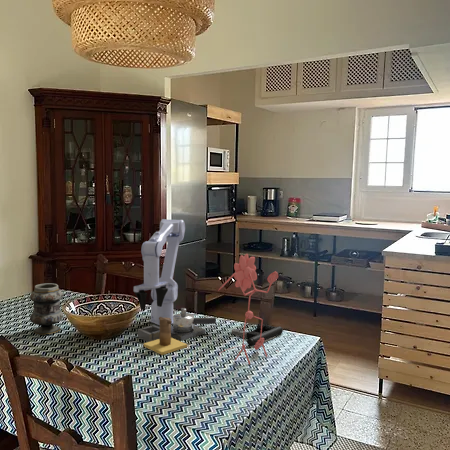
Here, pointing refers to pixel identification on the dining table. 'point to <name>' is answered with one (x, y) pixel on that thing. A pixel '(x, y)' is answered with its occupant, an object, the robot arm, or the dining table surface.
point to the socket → (149, 333)
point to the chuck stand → (187, 333)
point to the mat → (165, 349)
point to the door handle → (254, 335)
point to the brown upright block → (165, 331)
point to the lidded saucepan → (188, 321)
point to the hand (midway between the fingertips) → (151, 308)
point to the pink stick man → (244, 279)
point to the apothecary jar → (46, 308)
